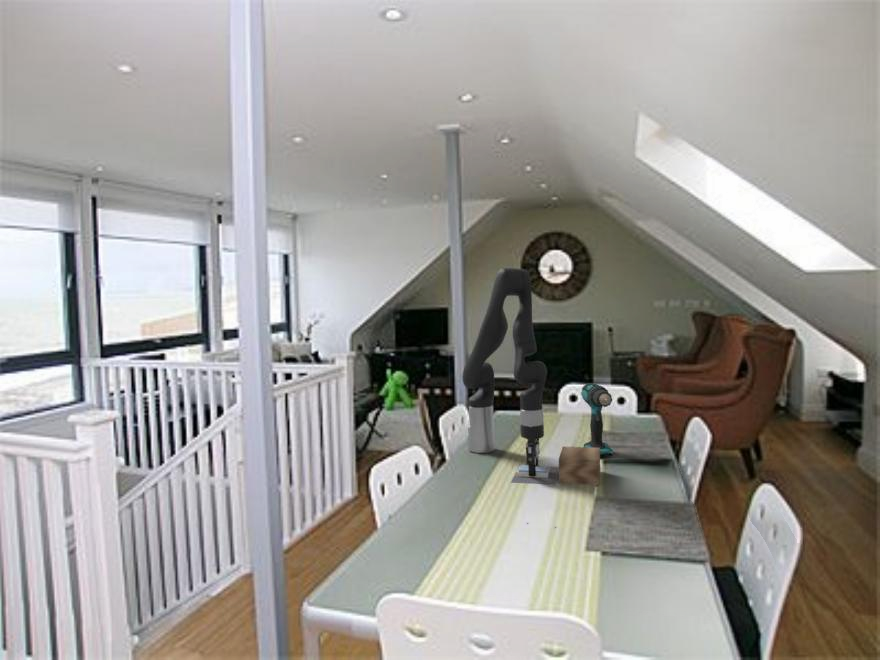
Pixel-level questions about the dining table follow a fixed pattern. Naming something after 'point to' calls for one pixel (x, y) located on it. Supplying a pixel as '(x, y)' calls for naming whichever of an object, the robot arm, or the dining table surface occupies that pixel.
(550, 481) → the mat
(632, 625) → the dining table surface
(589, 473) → the walnut block
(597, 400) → the power drill
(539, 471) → the card box
